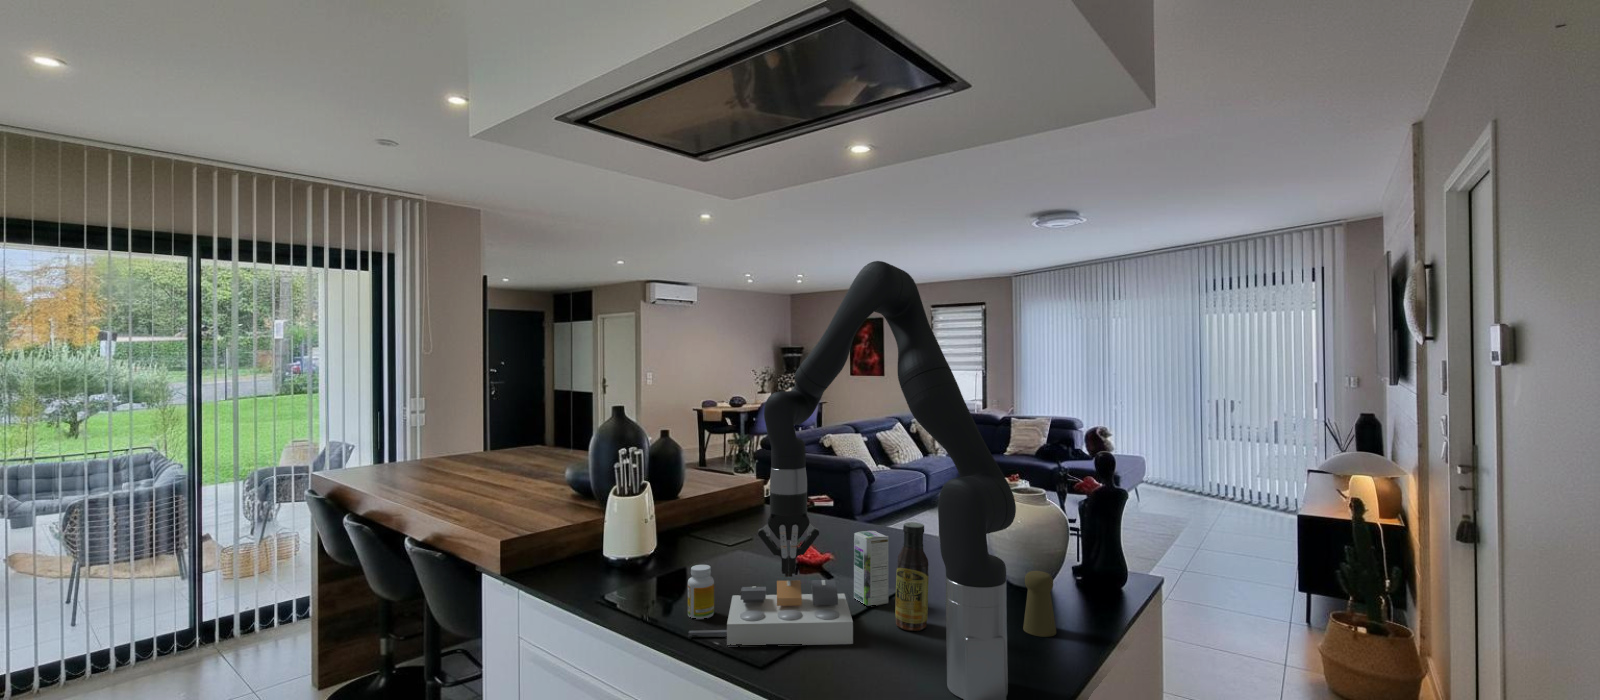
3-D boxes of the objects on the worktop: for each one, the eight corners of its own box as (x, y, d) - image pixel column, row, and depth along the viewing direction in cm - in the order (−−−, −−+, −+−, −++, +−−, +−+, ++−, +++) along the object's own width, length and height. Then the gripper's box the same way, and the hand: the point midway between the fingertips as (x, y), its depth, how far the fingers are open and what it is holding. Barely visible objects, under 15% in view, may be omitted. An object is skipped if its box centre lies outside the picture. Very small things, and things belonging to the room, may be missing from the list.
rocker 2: (801, 609, 126) (801, 597, 125) (776, 610, 125) (776, 597, 125) (800, 591, 132) (800, 579, 131) (776, 592, 132) (776, 580, 131)
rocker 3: (837, 609, 126) (837, 596, 125) (813, 609, 126) (813, 597, 125) (834, 591, 132) (835, 579, 132) (811, 591, 132) (811, 579, 131)
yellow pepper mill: (1059, 637, 121) (1058, 578, 121) (1025, 635, 122) (1024, 576, 122) (1053, 625, 127) (1052, 568, 127) (1021, 623, 128) (1020, 566, 128)
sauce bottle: (890, 629, 125) (889, 525, 126) (901, 618, 131) (900, 519, 132) (923, 635, 122) (922, 529, 123) (933, 623, 128) (932, 522, 128)
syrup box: (852, 599, 142) (852, 532, 142) (876, 595, 144) (875, 529, 145) (866, 607, 137) (865, 538, 137) (890, 603, 139) (889, 535, 139)
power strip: (853, 643, 119) (852, 620, 119) (685, 647, 118) (685, 623, 118) (844, 613, 134) (844, 592, 134) (695, 615, 133) (695, 594, 133)
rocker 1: (765, 604, 125) (765, 589, 125) (740, 604, 125) (740, 590, 125) (766, 599, 131) (766, 586, 132) (742, 600, 131) (742, 586, 132)
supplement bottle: (719, 613, 134) (719, 566, 134) (701, 622, 129) (701, 572, 130) (700, 608, 137) (700, 561, 137) (682, 616, 132) (682, 568, 133)
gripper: (755, 493, 128) (755, 582, 127) (822, 492, 128) (822, 581, 128) (756, 486, 135) (756, 570, 135) (819, 485, 136) (820, 569, 135)
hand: (788, 575), depth 131 cm, fingers closed
